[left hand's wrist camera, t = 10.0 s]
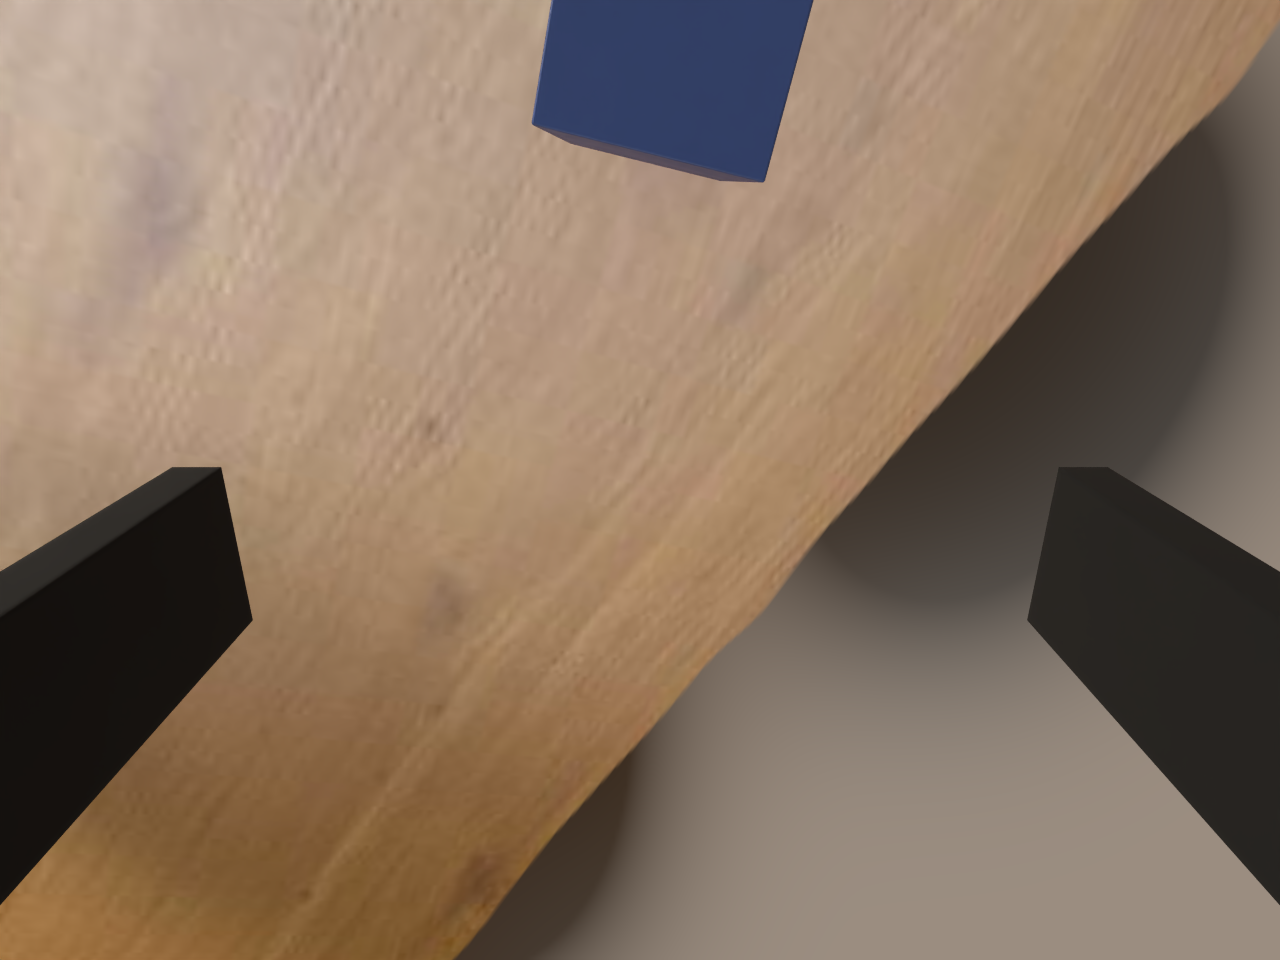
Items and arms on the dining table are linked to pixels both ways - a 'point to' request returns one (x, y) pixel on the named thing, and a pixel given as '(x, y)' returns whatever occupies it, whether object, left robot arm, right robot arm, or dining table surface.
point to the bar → (672, 80)
